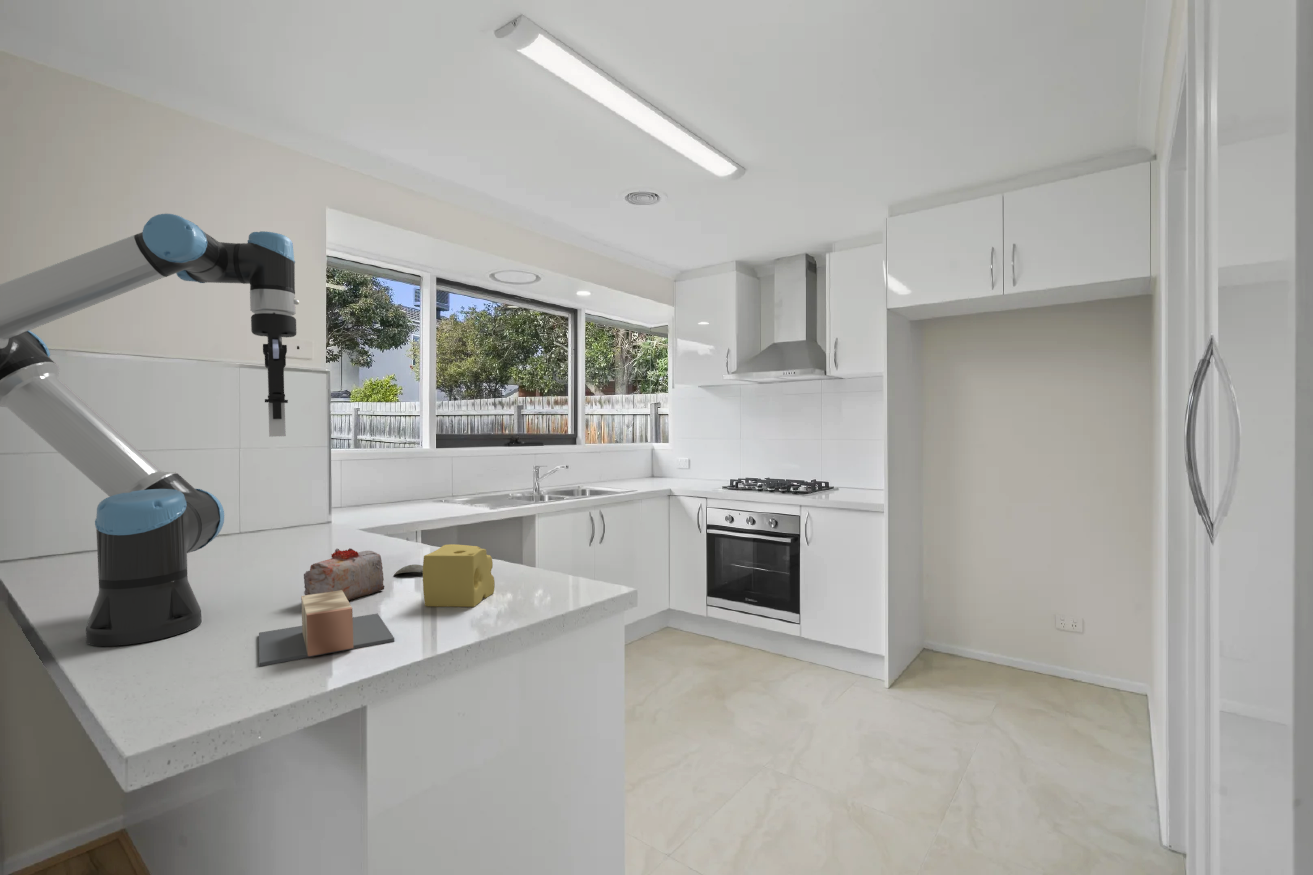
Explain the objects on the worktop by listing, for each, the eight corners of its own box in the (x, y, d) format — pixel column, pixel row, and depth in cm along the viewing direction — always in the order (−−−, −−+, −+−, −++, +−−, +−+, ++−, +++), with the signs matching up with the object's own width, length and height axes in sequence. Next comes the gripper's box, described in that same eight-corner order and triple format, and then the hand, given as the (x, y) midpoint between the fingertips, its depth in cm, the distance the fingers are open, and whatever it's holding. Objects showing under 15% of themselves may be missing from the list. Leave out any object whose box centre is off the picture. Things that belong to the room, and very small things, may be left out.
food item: (329, 609, 118) (327, 557, 118) (300, 605, 121) (299, 554, 121) (388, 591, 130) (386, 544, 130) (360, 588, 134) (359, 541, 133)
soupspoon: (411, 574, 150) (388, 581, 144) (410, 560, 150) (386, 567, 144) (479, 580, 139) (456, 589, 133) (478, 565, 139) (455, 573, 133)
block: (306, 615, 92) (301, 595, 103) (308, 656, 92) (302, 632, 103) (352, 608, 95) (342, 590, 106) (353, 647, 95) (343, 625, 106)
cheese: (495, 593, 128) (494, 543, 127) (474, 608, 117) (473, 555, 117) (445, 592, 129) (444, 543, 128) (420, 608, 118) (419, 554, 118)
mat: (259, 666, 90) (259, 662, 90) (258, 635, 103) (258, 632, 103) (394, 641, 99) (394, 637, 99) (377, 616, 113) (377, 613, 113)
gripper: (297, 311, 119) (301, 436, 120) (294, 321, 130) (297, 435, 131) (250, 308, 115) (254, 437, 116) (251, 318, 126) (254, 436, 127)
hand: (277, 436), depth 123 cm, fingers closed
